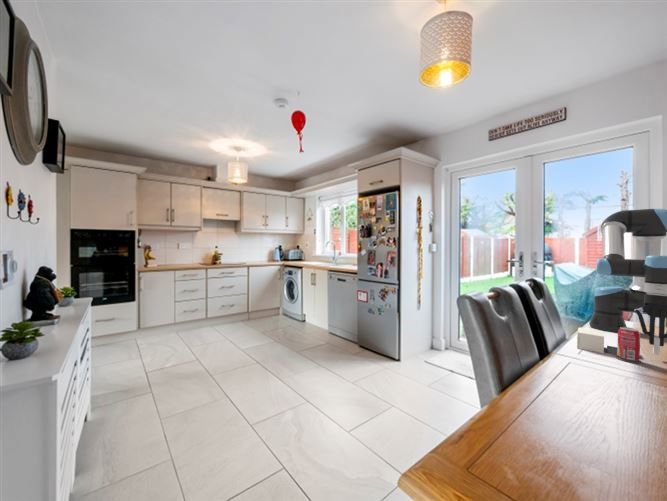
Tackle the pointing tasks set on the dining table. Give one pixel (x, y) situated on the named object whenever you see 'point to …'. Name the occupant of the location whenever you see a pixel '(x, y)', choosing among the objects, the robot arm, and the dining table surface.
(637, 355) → the beverage can
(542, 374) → the dining table surface
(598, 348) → the large cream box
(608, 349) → the slate tile
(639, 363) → the coaster
